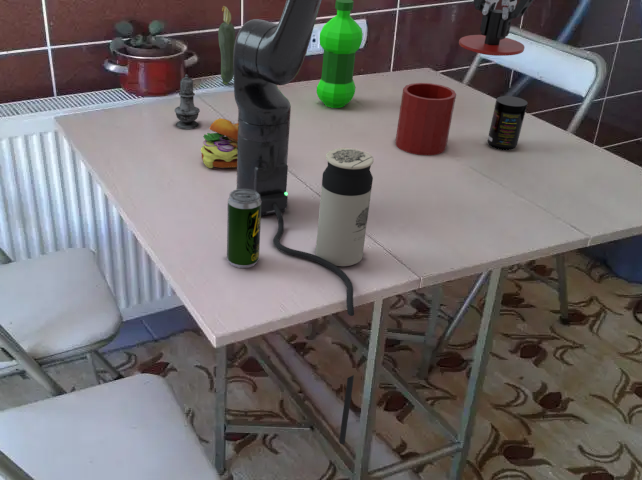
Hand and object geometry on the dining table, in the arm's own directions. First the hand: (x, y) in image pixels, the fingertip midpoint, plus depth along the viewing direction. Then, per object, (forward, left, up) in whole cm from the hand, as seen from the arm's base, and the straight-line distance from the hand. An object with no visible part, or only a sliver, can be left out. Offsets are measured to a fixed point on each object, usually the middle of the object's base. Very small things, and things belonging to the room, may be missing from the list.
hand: (493, 36), depth 145 cm
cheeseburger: (+19, +48, -27) cm, 59 cm away
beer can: (-20, +60, -27) cm, 69 cm away
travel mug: (-24, +44, -27) cm, 57 cm away
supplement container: (+7, -15, -27) cm, 32 cm away
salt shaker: (+41, +49, -27) cm, 70 cm away
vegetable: (+65, +30, -27) cm, 77 cm away
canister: (+13, +3, -27) cm, 30 cm away
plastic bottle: (+43, +9, -27) cm, 52 cm away
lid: (0, 0, -2) cm, 2 cm away
